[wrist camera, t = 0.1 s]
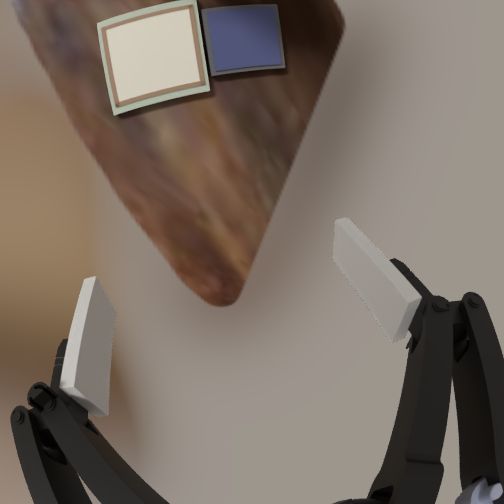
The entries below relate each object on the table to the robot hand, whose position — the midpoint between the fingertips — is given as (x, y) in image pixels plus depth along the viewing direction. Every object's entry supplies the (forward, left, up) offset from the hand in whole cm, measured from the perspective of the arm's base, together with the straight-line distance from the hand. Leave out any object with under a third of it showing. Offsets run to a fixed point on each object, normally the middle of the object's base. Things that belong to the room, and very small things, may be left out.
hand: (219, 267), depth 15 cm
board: (-14, -3, -28) cm, 31 cm away
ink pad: (-14, +9, -28) cm, 33 cm away
